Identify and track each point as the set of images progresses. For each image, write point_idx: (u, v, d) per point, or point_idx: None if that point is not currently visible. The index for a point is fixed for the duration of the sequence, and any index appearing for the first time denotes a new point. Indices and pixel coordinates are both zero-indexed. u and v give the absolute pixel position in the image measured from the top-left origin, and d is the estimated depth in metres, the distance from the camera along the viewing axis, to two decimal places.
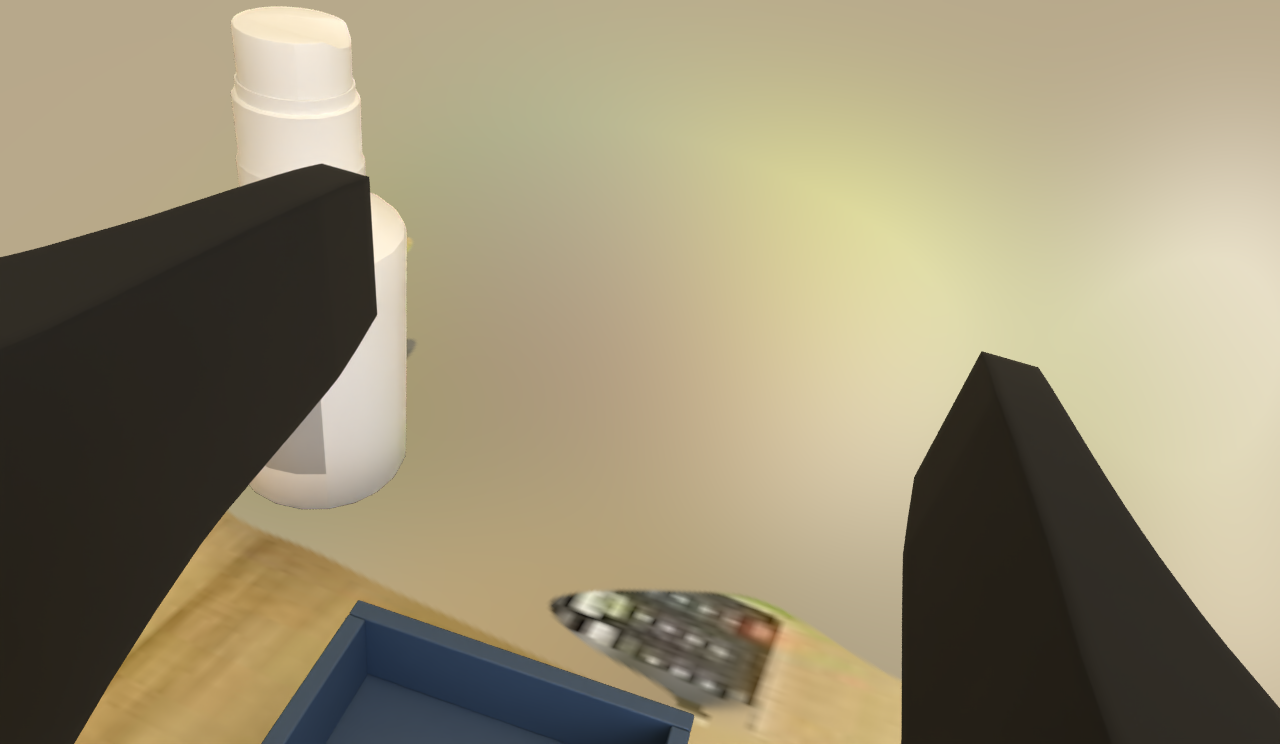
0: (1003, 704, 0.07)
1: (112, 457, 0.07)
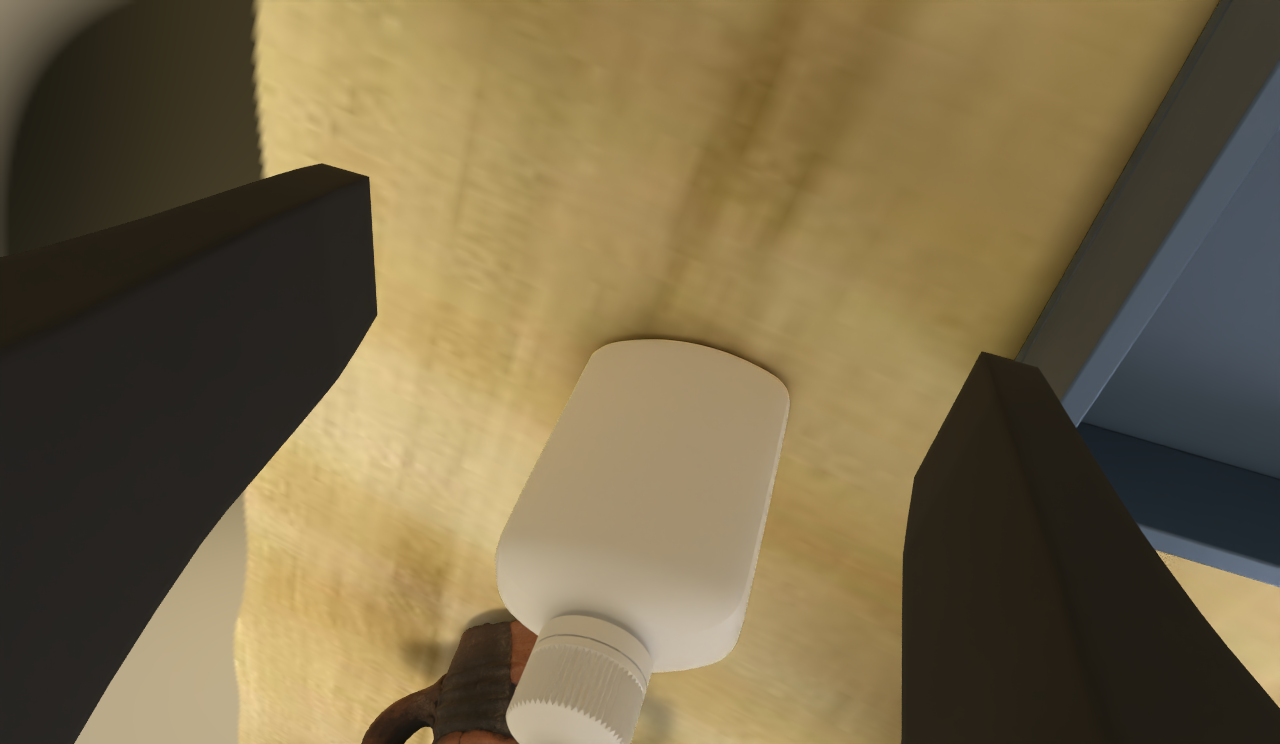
0: (1003, 704, 0.07)
1: (112, 457, 0.07)
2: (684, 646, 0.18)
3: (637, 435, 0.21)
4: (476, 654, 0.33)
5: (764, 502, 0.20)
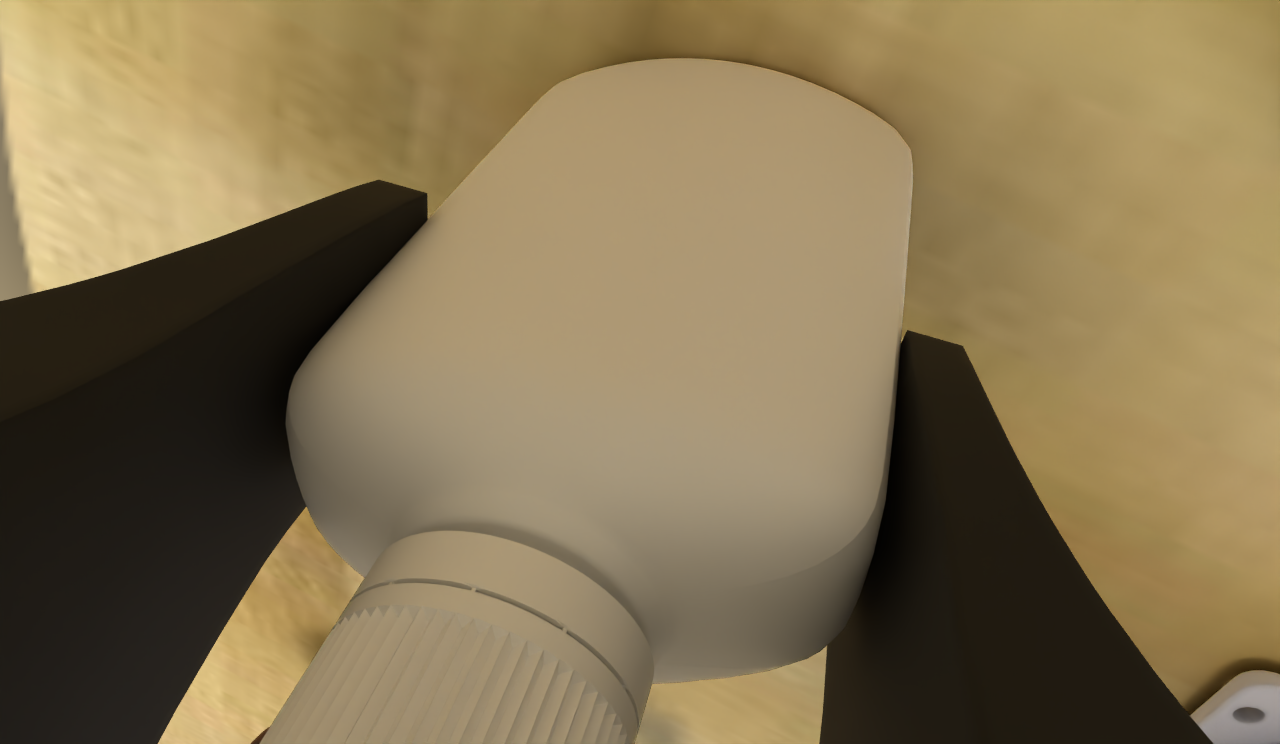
0: (898, 671, 0.07)
1: (188, 482, 0.07)
2: (735, 618, 0.07)
3: (620, 174, 0.10)
4: None
5: (897, 310, 0.09)
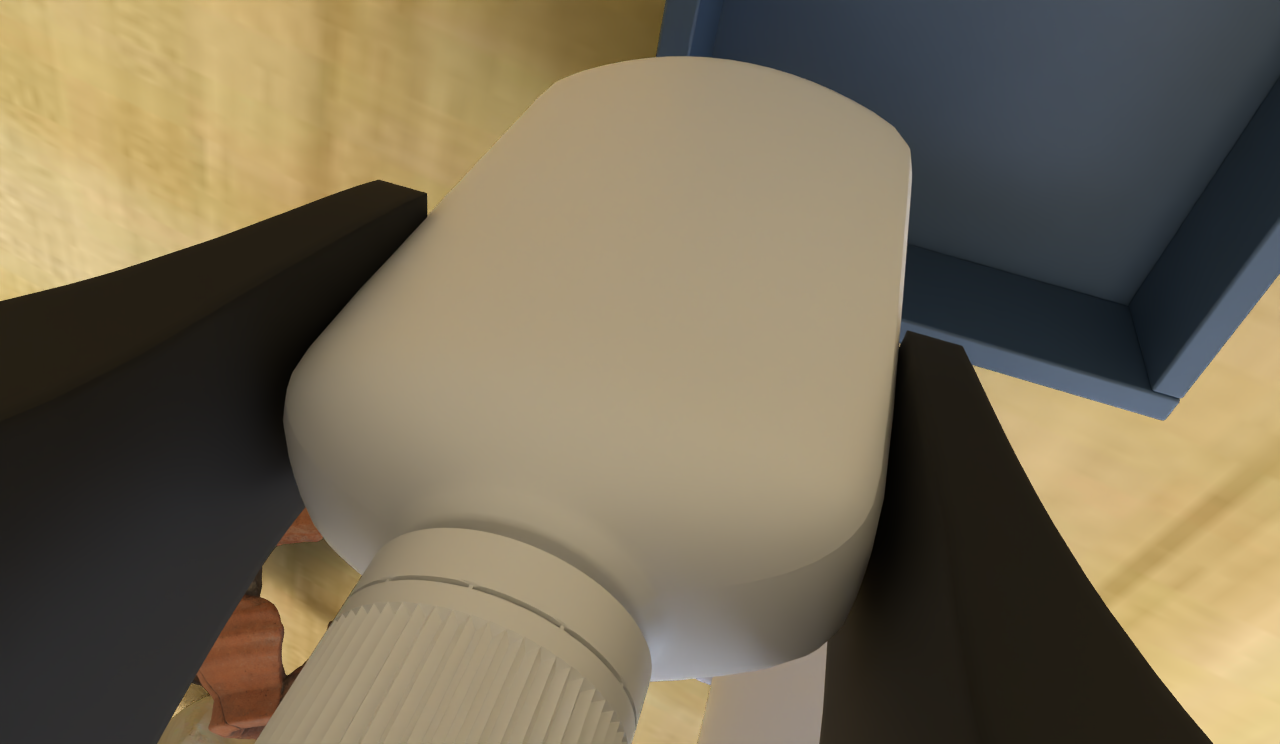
0: (897, 670, 0.07)
1: (188, 482, 0.07)
2: (733, 615, 0.07)
3: (619, 172, 0.10)
4: None
5: (896, 307, 0.09)
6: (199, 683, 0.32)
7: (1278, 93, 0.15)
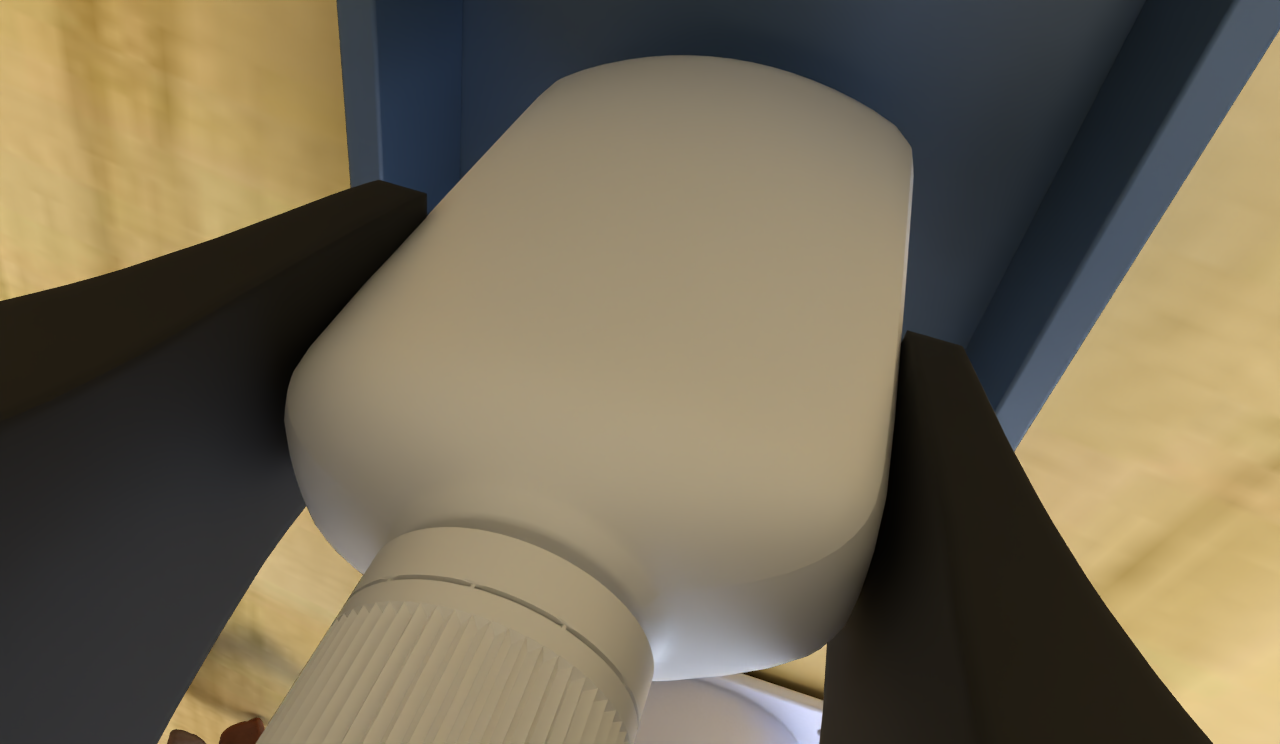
0: (897, 670, 0.07)
1: (188, 482, 0.07)
2: (735, 614, 0.07)
3: (620, 170, 0.10)
4: None
5: (898, 306, 0.09)
6: None
7: (1014, 267, 0.15)
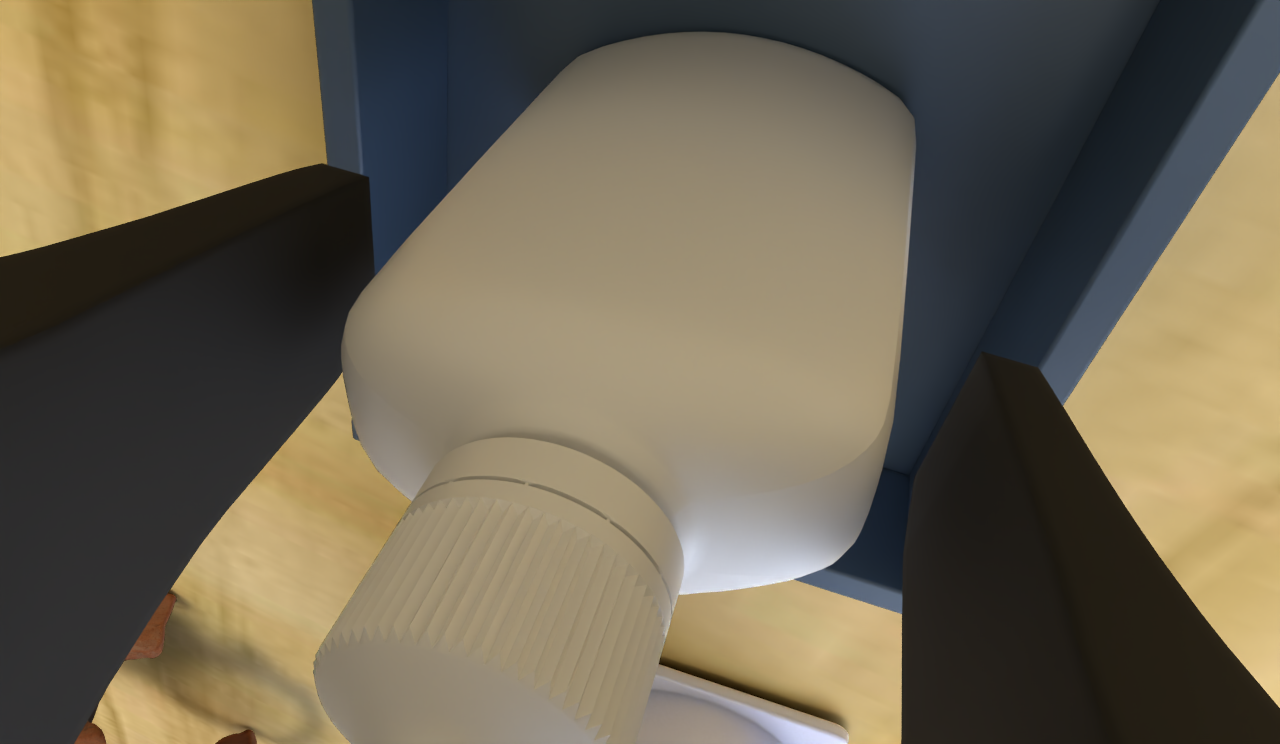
0: (1003, 705, 0.07)
1: (112, 457, 0.07)
2: (756, 523, 0.08)
3: (645, 133, 0.10)
4: None
5: (902, 257, 0.10)
6: None
7: (1016, 285, 0.14)
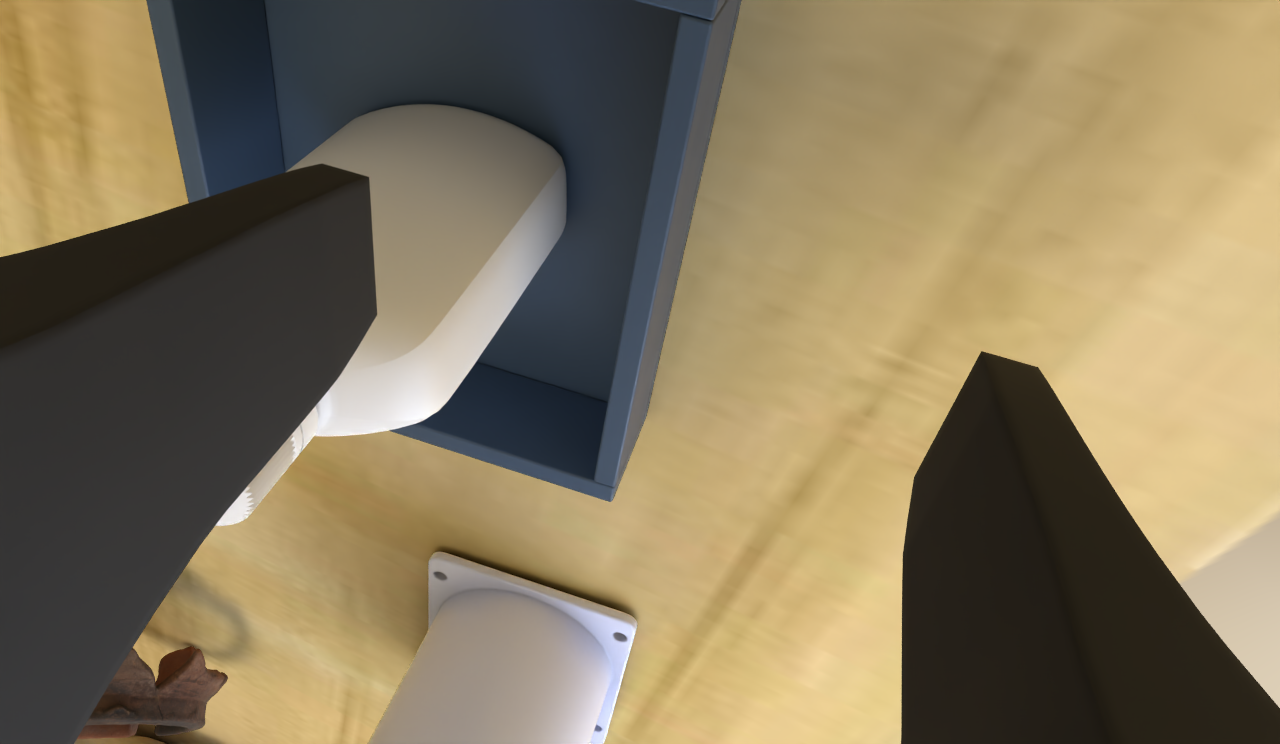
0: (1002, 704, 0.07)
1: (113, 457, 0.07)
2: (360, 387, 0.15)
3: None
4: None
5: (493, 250, 0.17)
6: None
7: None
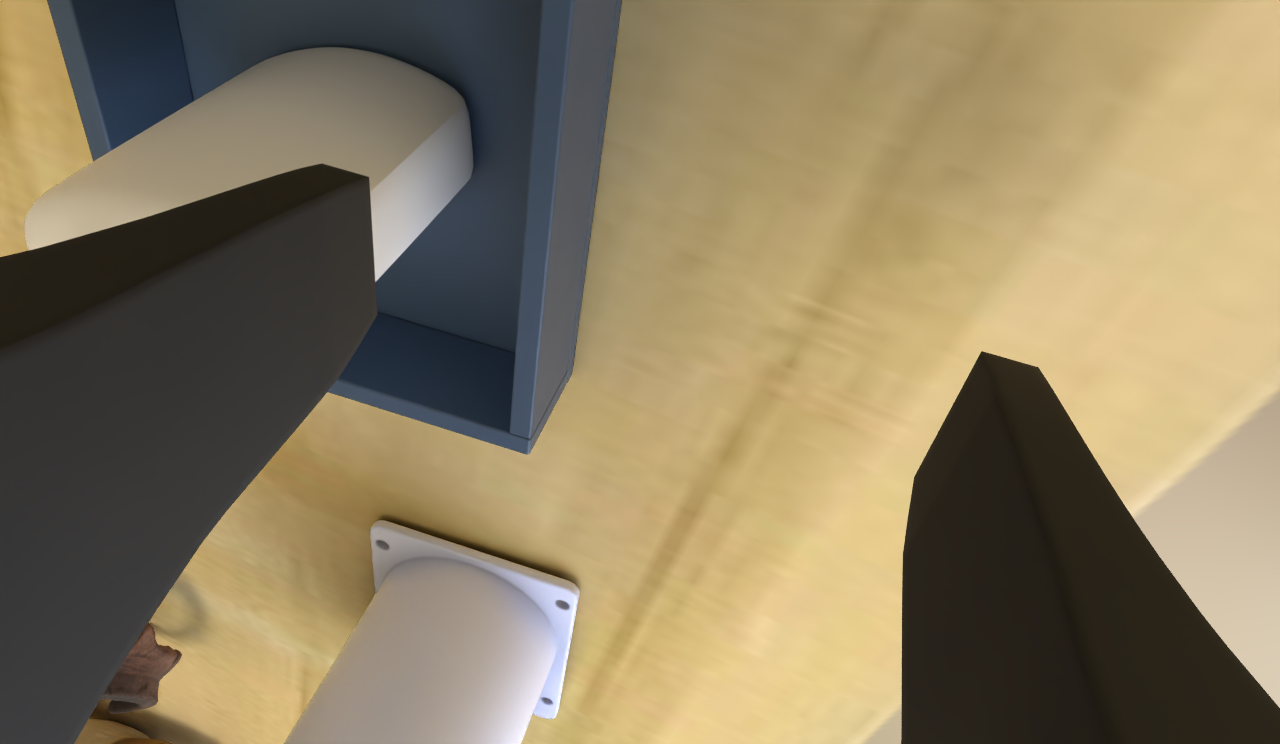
0: (1002, 704, 0.07)
1: (112, 457, 0.07)
2: None
3: (236, 110, 0.17)
4: None
5: (377, 182, 0.17)
6: None
7: None
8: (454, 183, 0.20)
